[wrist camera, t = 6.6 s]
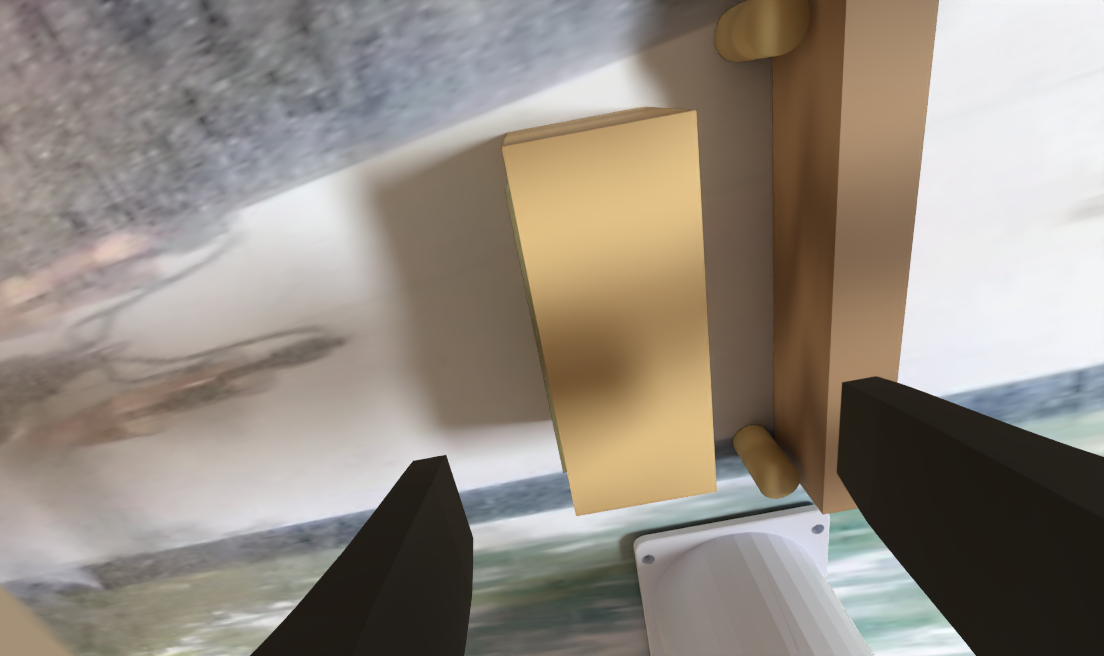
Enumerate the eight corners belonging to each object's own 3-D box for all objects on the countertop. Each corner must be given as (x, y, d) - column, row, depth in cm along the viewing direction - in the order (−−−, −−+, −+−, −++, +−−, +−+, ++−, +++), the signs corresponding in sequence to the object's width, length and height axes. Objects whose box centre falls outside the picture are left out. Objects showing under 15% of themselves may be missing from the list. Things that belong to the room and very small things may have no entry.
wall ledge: (825, 440, 20) (883, 505, 17) (733, 457, 20) (774, 525, 17) (852, -156, 13) (965, -242, 9) (707, -126, 13) (770, -201, 10)
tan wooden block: (669, 397, 19) (716, 491, 15) (558, 417, 19) (570, 516, 15) (642, 106, 15) (696, 110, 10) (502, 133, 15) (494, 148, 11)
